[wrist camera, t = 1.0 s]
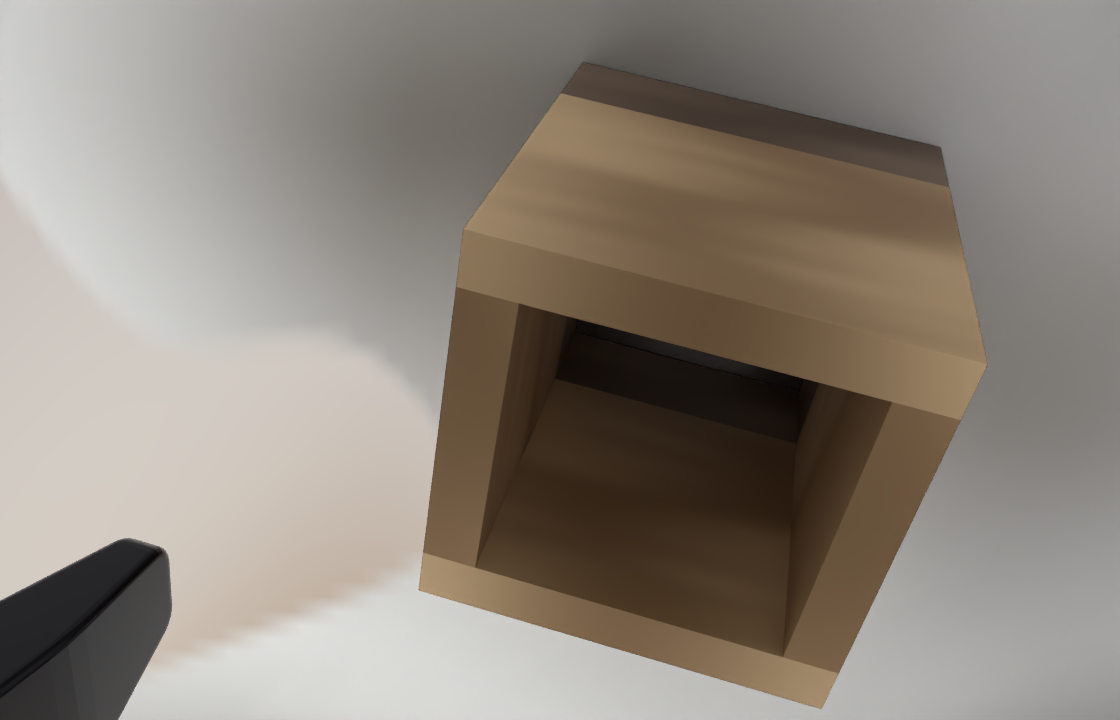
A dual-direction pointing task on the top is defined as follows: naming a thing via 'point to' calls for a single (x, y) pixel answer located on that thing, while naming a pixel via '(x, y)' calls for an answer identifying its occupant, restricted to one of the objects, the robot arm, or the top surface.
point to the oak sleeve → (699, 380)
